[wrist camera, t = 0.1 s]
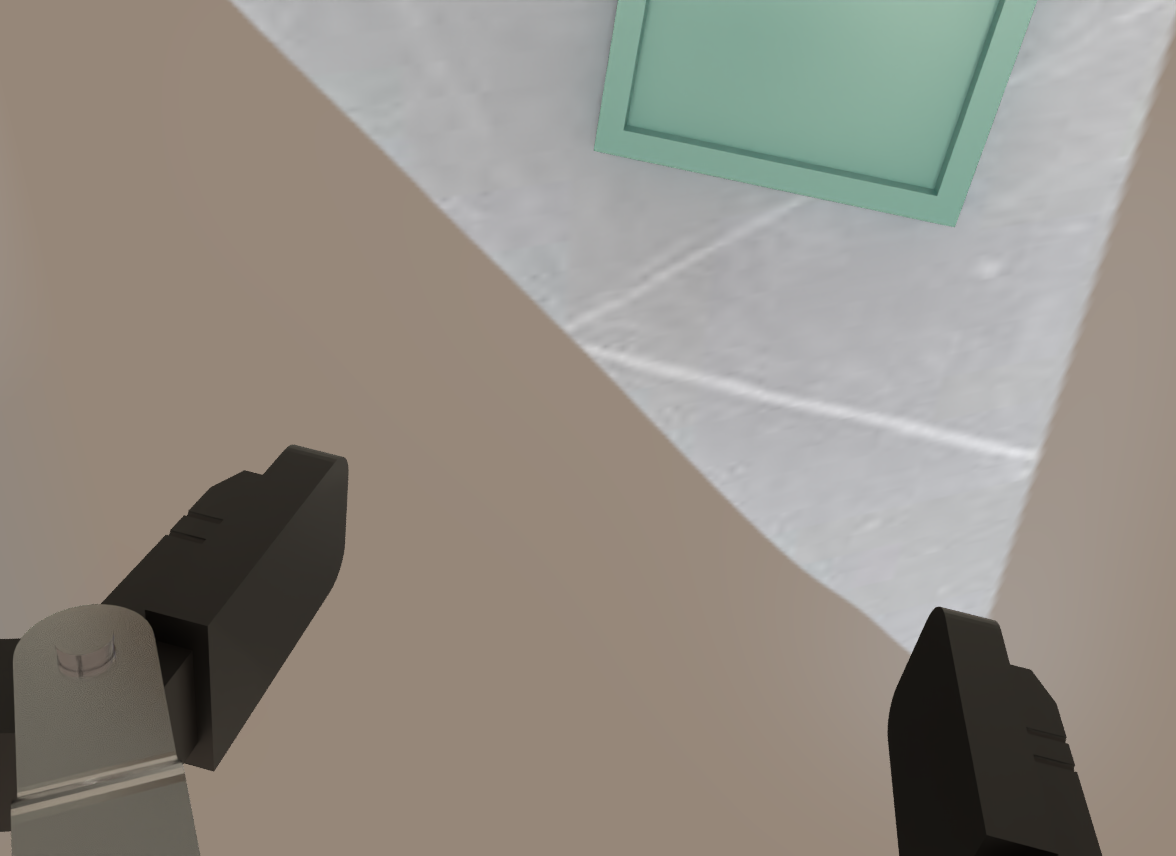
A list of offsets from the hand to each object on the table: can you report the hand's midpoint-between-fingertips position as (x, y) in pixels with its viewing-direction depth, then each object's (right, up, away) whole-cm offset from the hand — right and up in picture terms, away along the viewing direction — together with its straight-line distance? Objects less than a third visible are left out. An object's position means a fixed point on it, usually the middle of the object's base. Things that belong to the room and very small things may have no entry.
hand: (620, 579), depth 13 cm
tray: (+8, +18, +22) cm, 30 cm away
